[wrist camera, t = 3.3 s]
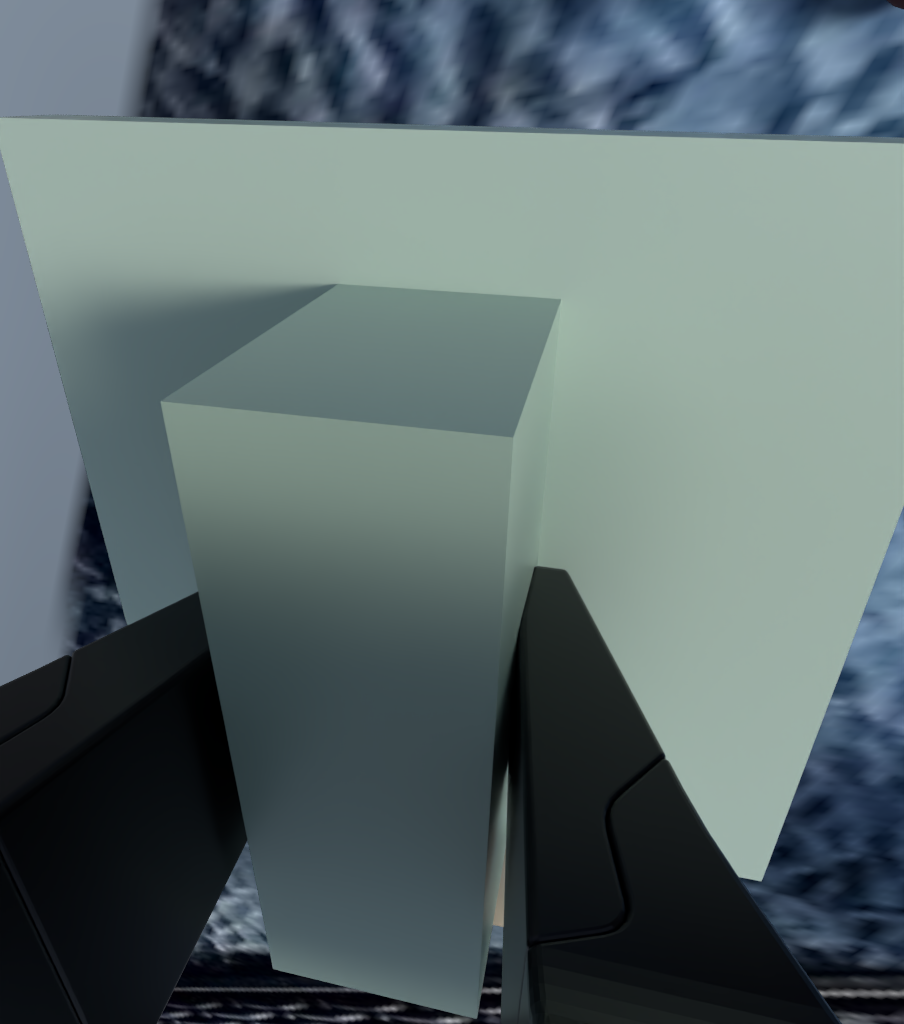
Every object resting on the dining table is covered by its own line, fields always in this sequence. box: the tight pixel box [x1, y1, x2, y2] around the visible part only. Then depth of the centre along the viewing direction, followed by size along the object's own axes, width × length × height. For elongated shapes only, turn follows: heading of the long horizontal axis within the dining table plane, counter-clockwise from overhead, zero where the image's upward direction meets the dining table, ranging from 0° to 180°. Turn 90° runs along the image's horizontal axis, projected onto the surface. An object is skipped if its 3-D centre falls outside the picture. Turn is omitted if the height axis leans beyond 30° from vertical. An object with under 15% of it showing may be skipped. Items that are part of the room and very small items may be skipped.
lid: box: [0, 115, 904, 1019], centre depth 9 cm, size 10×10×5 cm
